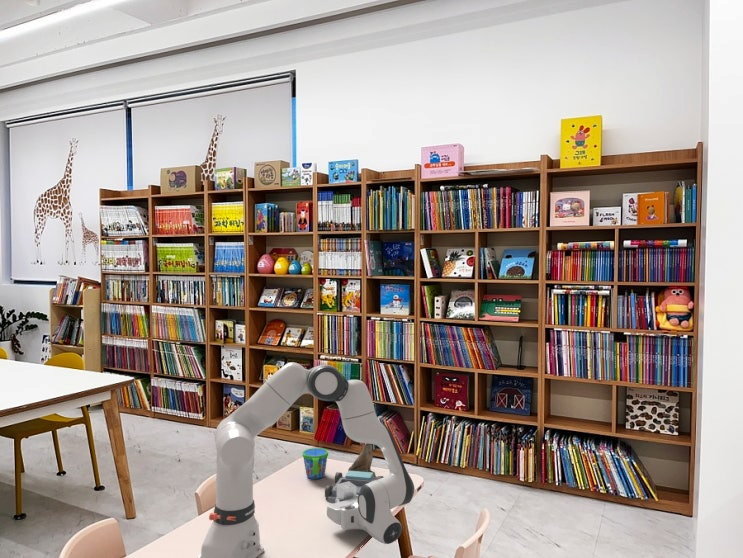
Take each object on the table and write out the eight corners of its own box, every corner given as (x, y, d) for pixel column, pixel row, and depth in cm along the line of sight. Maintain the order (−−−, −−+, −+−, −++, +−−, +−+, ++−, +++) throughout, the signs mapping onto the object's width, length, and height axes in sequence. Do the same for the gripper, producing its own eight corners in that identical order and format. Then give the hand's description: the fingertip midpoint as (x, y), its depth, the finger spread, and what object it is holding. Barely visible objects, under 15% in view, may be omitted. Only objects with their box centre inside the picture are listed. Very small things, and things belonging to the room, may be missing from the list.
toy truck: (373, 505, 199) (373, 493, 199) (323, 501, 203) (323, 489, 203) (384, 484, 219) (384, 473, 219) (338, 480, 223) (338, 469, 223)
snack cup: (304, 469, 235) (304, 445, 235) (329, 469, 235) (329, 445, 235) (300, 483, 219) (300, 458, 219) (326, 483, 219) (326, 458, 219)
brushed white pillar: (356, 517, 190) (356, 486, 190) (343, 521, 188) (343, 489, 187) (349, 511, 195) (349, 481, 194) (336, 515, 192) (336, 484, 192)
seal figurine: (375, 481, 228) (383, 441, 225) (367, 485, 224) (374, 444, 221) (354, 469, 235) (361, 429, 232) (345, 472, 231) (352, 432, 228)
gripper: (392, 496, 186) (370, 483, 197) (339, 511, 175) (319, 496, 186) (392, 515, 186) (370, 500, 197) (339, 531, 175) (319, 514, 186)
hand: (345, 498), depth 192 cm, fingers closed on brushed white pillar, 5 cm apart
